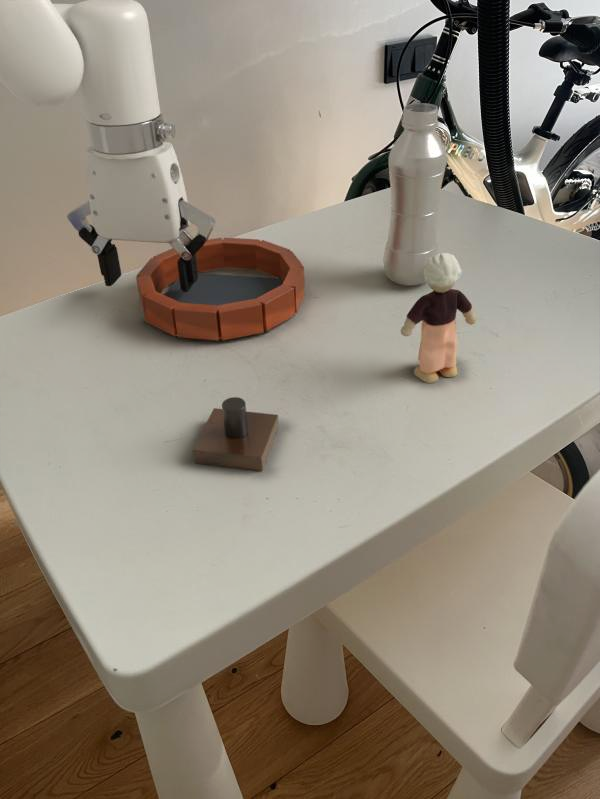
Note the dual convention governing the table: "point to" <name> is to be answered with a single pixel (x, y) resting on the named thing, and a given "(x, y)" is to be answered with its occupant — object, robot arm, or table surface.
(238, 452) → the post
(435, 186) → the plastic bottle
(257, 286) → the mat
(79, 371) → the table surface
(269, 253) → the hoop
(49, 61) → the robot arm
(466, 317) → the grandmother figurine
